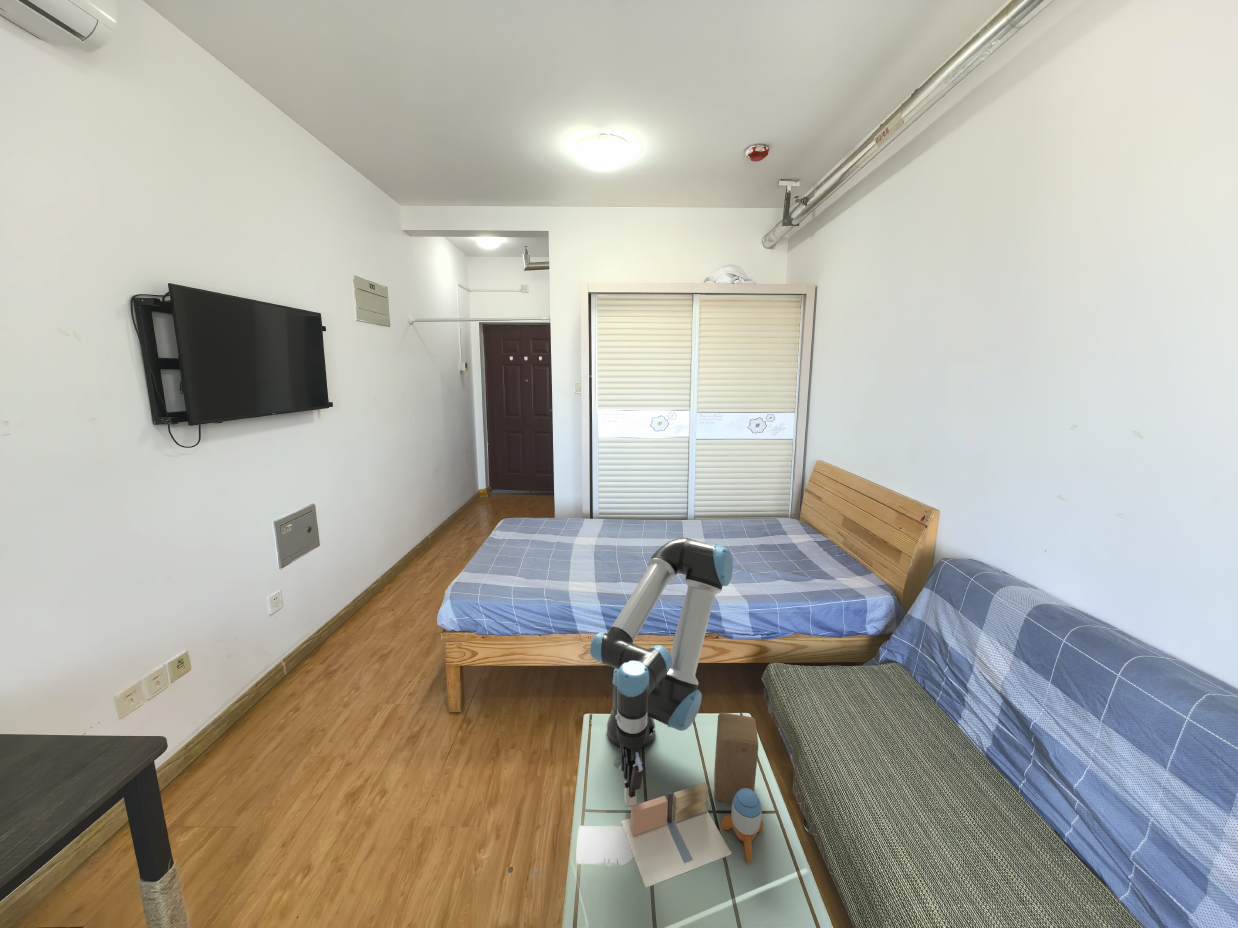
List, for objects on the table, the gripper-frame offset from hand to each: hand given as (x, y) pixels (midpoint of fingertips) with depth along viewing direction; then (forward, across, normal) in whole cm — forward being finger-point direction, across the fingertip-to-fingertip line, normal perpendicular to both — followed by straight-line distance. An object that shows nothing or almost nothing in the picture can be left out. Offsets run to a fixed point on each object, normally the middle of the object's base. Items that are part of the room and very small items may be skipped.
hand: (630, 802), depth 119 cm
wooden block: (+2, +4, +29) cm, 29 cm away
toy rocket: (+3, +16, +25) cm, 30 cm away
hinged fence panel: (+1, +7, +2) cm, 7 cm away
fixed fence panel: (+2, +7, +13) cm, 15 cm away
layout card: (+2, +11, +8) cm, 13 cm away
